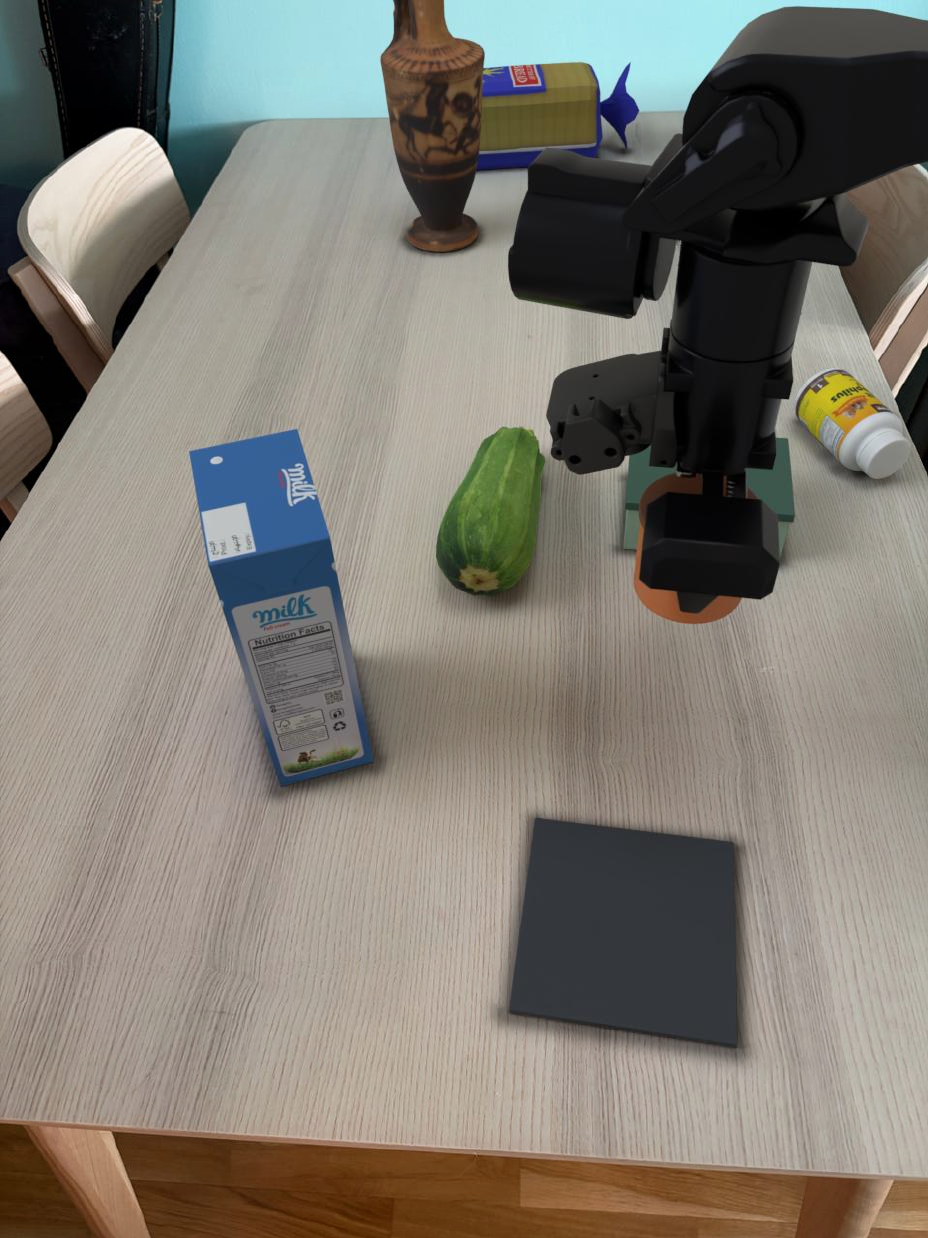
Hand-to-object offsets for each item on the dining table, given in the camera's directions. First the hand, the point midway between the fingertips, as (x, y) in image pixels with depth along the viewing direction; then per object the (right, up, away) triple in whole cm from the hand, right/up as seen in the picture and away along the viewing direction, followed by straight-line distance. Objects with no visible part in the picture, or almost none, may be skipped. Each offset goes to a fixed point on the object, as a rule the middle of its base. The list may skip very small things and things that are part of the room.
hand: (691, 569), depth 57 cm
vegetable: (-10, +5, +23) cm, 25 cm away
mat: (-4, -20, -1) cm, 21 cm away
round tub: (0, -1, +1) cm, 1 cm away
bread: (-4, +59, +73) cm, 94 cm away
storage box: (+6, +5, +22) cm, 24 cm away
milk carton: (-24, -10, +10) cm, 28 cm away
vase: (-16, +42, +58) cm, 73 cm away
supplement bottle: (+18, +17, +29) cm, 38 cm away
